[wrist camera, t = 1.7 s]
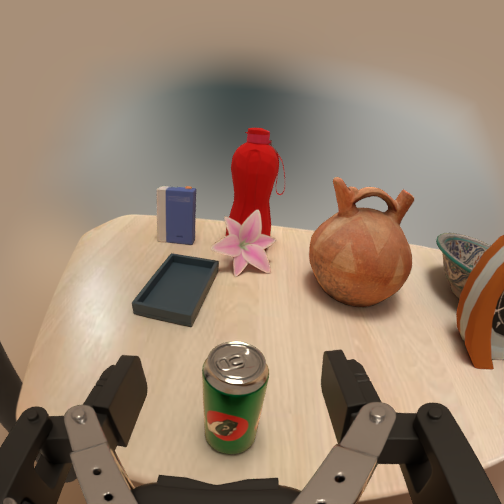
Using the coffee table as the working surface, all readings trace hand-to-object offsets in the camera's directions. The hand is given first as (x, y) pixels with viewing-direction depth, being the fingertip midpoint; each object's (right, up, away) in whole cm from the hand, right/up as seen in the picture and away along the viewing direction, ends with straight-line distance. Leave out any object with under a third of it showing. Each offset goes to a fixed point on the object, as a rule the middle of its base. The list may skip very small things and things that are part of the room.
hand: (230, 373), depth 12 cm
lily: (-1, +2, +46) cm, 46 cm away
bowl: (+50, -5, +43) cm, 66 cm away
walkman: (-15, +7, +53) cm, 56 cm away
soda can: (-1, -14, +15) cm, 20 cm away
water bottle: (+1, +7, +55) cm, 55 cm away
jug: (+19, -2, +42) cm, 46 cm away
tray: (-11, -1, +37) cm, 38 cm away
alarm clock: (+44, -12, +26) cm, 53 cm away
